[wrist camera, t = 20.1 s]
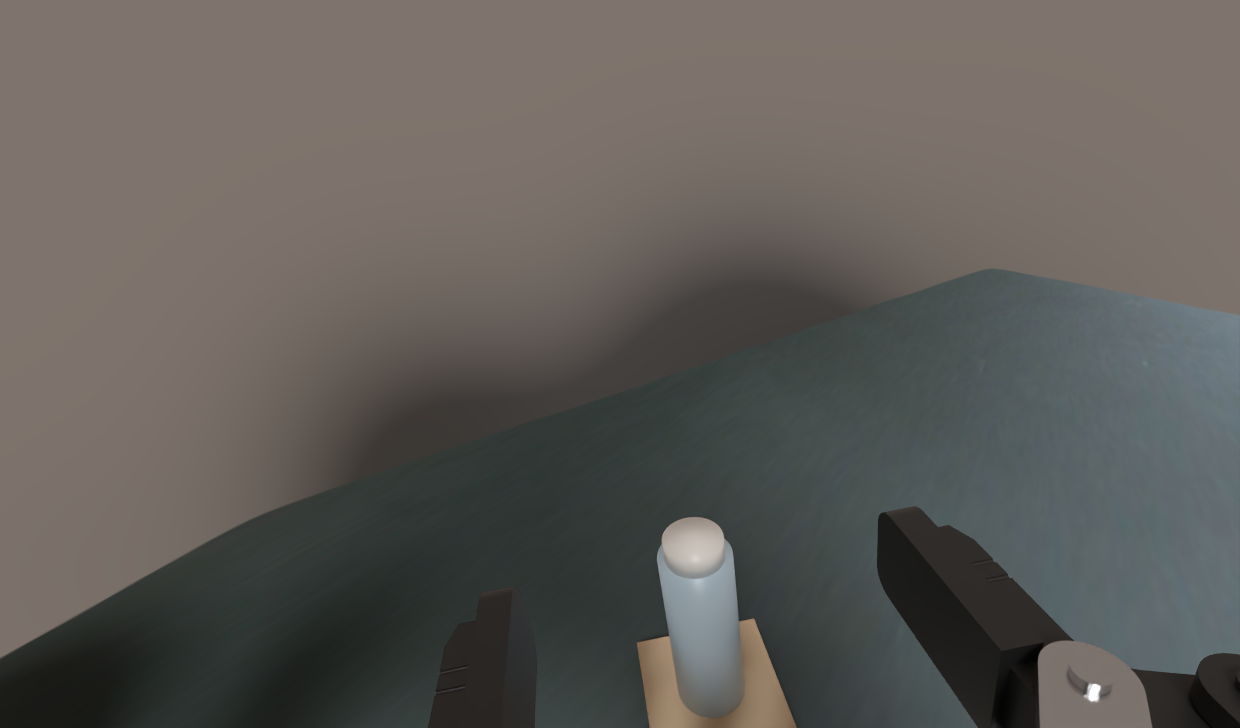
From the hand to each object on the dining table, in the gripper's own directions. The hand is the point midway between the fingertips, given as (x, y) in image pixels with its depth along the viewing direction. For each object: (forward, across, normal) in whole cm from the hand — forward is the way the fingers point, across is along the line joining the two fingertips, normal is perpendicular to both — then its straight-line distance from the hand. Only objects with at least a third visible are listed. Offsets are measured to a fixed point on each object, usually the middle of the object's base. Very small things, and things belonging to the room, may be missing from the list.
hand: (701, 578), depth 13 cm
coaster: (+20, -2, +32) cm, 38 cm away
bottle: (+20, -2, +31) cm, 37 cm away
